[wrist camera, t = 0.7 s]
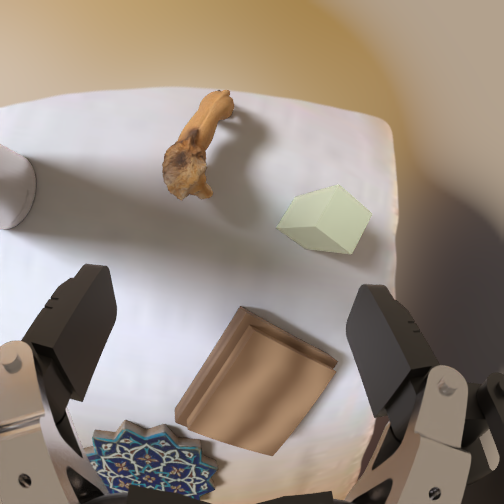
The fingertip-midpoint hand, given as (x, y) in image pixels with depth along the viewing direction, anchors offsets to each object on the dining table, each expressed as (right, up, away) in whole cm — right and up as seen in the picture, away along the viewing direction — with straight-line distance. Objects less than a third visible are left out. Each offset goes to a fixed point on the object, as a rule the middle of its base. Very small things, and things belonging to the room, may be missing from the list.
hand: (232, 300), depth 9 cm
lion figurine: (-5, +13, +22) cm, 26 cm away
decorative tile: (-14, -30, +23) cm, 41 cm away
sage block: (+6, +5, +26) cm, 27 cm away
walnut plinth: (+1, -15, +25) cm, 30 cm away
